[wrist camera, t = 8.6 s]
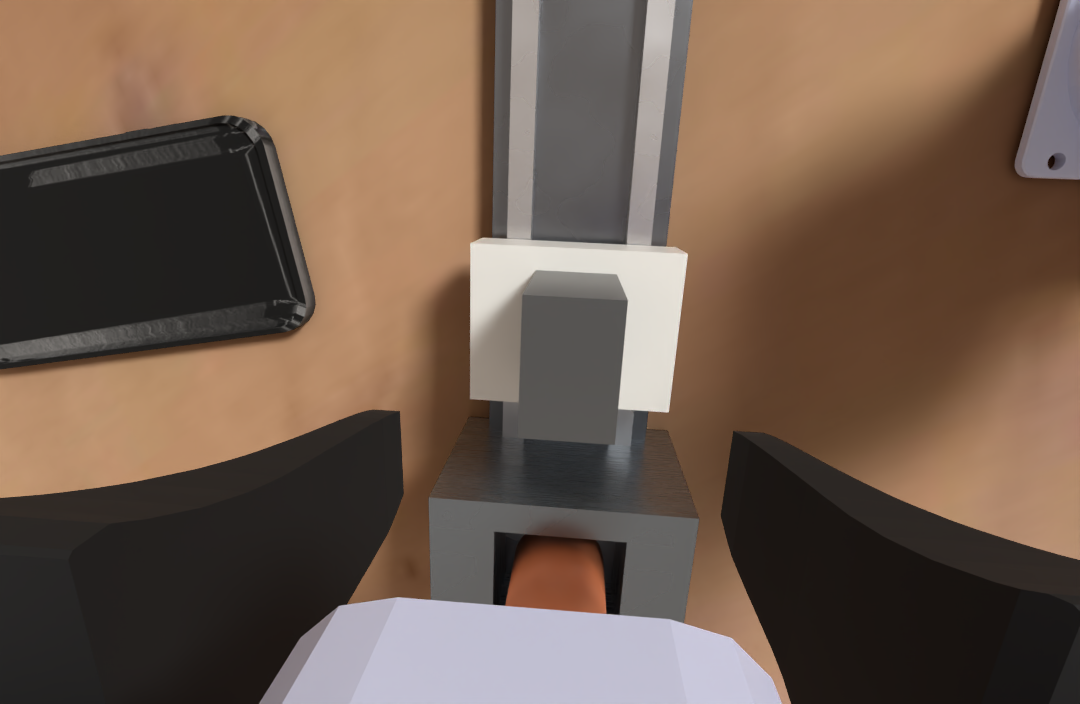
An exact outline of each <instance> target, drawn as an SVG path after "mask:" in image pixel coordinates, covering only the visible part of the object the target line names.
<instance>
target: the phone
mask: <svg viewBox="0 0 1080 704" xmlns="http://www.w3.org/2000/svg"><path fill="white" fill-rule="evenodd" d="M314 309H315V295H314V291H313V288H312V284H311V280H310V276H309V272H308V269H307V265H306V261H305V257H304V254H303V250H302V246H301V242H300V238H299V235H298V231H297V227H296V223H295V220H294V216H293V212H292V208H291V204H290V201H289V197H288V193H287V189H286V186H285V182H284V178H283V174H282V170H281V167H280V163H279V159H278V155H277V152H276V148H275V145H274V143H273V141H272V138H271V136H270V135H269V134H268V133H267V131H266V130H265V129H264V128H263V127H262V126H260V125H259V124H258V123H256V122H254V121H251V120H248V119H245V118H241V117H237V116H218V117H213V118H207V119H202V120H196V121H190V122H185V123H179V124H173V125H167V126H162V127H156V128H152V129H142V130H136V131H131V132H126V133H124V134H118V135H113V136H107V137H102V138H96V139H91V140H85V141H80V142H74V143H69V144H63V145H57V146H52V147H46V148H41V149H35V150H30V151H24V152H19V153H13V154H8V155H2V156H0V369H6V368H13V367H21V366H29V365H37V364H44V363H52V362H60V361H67V360H75V359H83V358H90V357H98V356H106V355H113V354H121V353H129V352H136V351H144V350H152V349H159V348H167V347H175V346H182V345H190V344H198V343H206V342H213V341H221V340H229V339H236V338H244V337H252V336H259V335H267V334H275V333H282V332H287V331H290V330H293V329H296V328H298V327H300V326H302V325H303V324H305V323H306V322H307V321H309V320H310V318H311V316H312V315H313V313H314Z"/></svg>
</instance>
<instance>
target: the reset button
mask: <svg viewBox="0 0 1080 704" xmlns="http://www.w3.org/2000/svg"><path fill="white" fill-rule="evenodd" d="M505 606H512V607H525V608H537V609H550V610H562V611H574V612H587V613H599V614H606V597H605V580H604V563H603V554H602V551H601V548H600V546H599V544H598V542H597V541H596V540H591V539H578V538H566V537H554V536H542V535H530V534H524V536H523V537H522V538H521V539H520V541H519V543H518V545H517V547H516V551H515V556H514V561H513V567H512V572H511V577H510V583H509V588H508V594H507V599H506V604H505Z"/></svg>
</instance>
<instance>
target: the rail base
mask: <svg viewBox="0 0 1080 704" xmlns="http://www.w3.org/2000/svg"><path fill="white" fill-rule="evenodd" d="M692 4H693V0H496V25H495V90H494V155H493V220H492V238H501V239H521V240H541V241H562V242H582V243H602V244H623V245H643V246H664V247H666V244H667V234H668V225H669V216H670V207H671V198H672V188H673V179H674V170H675V161H676V152H677V142H678V133H679V124H680V115H681V106H682V96H683V87H684V78H685V69H686V60H687V50H688V41H689V32H690V23H691V14H692ZM518 410H519V402H506V401H491V400H490V416H489V418H477V417H469V418H468V420H467V422H466V424H465V426H464V428H463V430H462V432H461V434H460V436H459V438H458V440H457V442H456V444H455V446H454V448H453V450H452V452H451V454H450V456H449V458H448V460H447V462H446V464H445V466H444V468H443V470H442V472H441V474H440V476H439V478H438V480H437V482H436V484H435V486H434V488H433V490H432V492H431V494H430V496H429V537H430V583H431V600H438V601H450V602H463V603H475V604H488V605H500V606H505V604H506V599H507V594H508V588H509V583H510V577H511V572H512V567H513V561H514V556H515V551H516V547H517V545H518V543H519V541H520V539H521V538H522V537H523V536H524V534H530V535H542V536H554V537H566V538H578V539H591V540H596V541H597V542H598V544H599V546H600V548H601V551H602V554H603V563H604V580H605V597H606V614H612V615H624V616H636V617H649V618H661V619H671V620H674V621H677V622H681V623H684V619H685V612H686V605H687V598H688V592H689V585H690V578H691V571H692V565H693V558H694V551H695V544H696V538H697V531H698V524H699V517H698V514H697V511H696V508H695V506H694V503H693V500H692V497H691V494H690V492H689V489H688V486H687V483H686V480H685V478H684V475H683V472H682V469H681V467H680V464H679V461H678V458H677V455H676V453H675V450H674V447H673V444H672V441H671V439H670V436H669V433H668V431H665V430H650V429H646V428H647V419H648V411H639V410H624V409H618V416H617V427H616V438H615V445H608V444H594V443H580V442H566V441H552V440H538V439H524V438H518Z"/></svg>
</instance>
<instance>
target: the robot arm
mask: <svg viewBox="0 0 1080 704" xmlns="http://www.w3.org/2000/svg"><path fill="white" fill-rule="evenodd" d="M1052 155H1053V156H1054V157H1055V163H1054V165H1053V167H1052V168H1050V169H1049V167H1048V160H1049V158H1050V157H1051V156H1052ZM1015 170H1016V172H1017V173H1018V174H1019V175H1020V176H1022V177H1026V178H1047V179H1072V180H1080V0H1060V4H1059V7H1058V11H1057V14H1056V18H1055V22H1054V25H1053V29H1052V32H1051V36H1050V39H1049V43H1048V46H1047V50H1046V53H1045V57H1044V60H1043V64H1042V68H1041V71H1040V75H1039V78H1038V82H1037V85H1036V89H1035V92H1034V96H1033V99H1032V103H1031V106H1030V110H1029V113H1028V117H1027V121H1026V124H1025V128H1024V131H1023V135H1022V138H1021V142H1020V145H1019V149H1018V152H1017V156H1016V159H1015ZM403 494H404V490H403V469H402V448H401V427H400V411H386V410H369V411H364V412H361V413H358V414H355V415H352V416H349V417H347V418H344V419H341V420H339V421H336V422H334V423H331V424H329V425H326V426H324V427H321V428H319V429H316V430H314V431H311V432H309V433H306V434H304V435H301V436H299V437H296V438H293V439H290V440H288V441H285V442H282V443H279V444H277V445H274V446H271V447H268V448H266V449H263V450H260V451H257V452H254V453H251V454H248V455H245V456H242V457H239V458H235V459H232V460H228V461H225V462H221V463H217V464H214V465H210V466H206V467H203V468H199V469H195V470H190V471H186V472H181V473H176V474H171V475H166V476H162V477H157V478H152V479H147V480H142V481H138V482H132V483H126V484H120V485H113V486H107V487H101V488H93V489H86V490H78V491H70V492H63V493H54V494H44V495H33V496H21V497H9V498H0V704H782V703H781V700H780V698H779V695H778V693H777V690H776V687H775V685H774V682H773V680H772V678H771V677H770V676H769V675H768V674H767V673H766V672H765V671H764V670H763V669H762V668H761V667H760V666H759V665H758V664H757V663H756V662H755V661H754V660H753V659H752V658H751V657H750V656H749V655H748V654H747V653H746V652H745V651H744V650H743V649H742V648H741V647H740V646H739V645H738V644H737V643H736V642H735V641H734V640H733V639H732V638H730V637H727V636H723V635H720V634H717V633H713V632H710V631H707V630H704V629H700V628H697V627H694V626H690V625H687V624H684V623H681V622H677V621H674V620H671V619H661V618H649V617H636V616H624V615H612V614H599V613H587V612H574V611H562V610H550V609H537V608H525V607H512V606H500V605H488V604H475V603H463V602H450V601H438V600H425V599H413V598H401V597H396V598H389V599H382V600H376V601H369V602H362V603H355V604H348V605H347V603H348V601H349V600H350V598H351V596H352V595H353V593H354V591H355V589H356V588H357V586H358V584H359V583H360V581H361V579H362V577H363V576H364V574H365V572H366V571H367V569H368V567H369V565H370V564H371V562H372V560H373V559H374V557H375V555H376V553H377V552H378V550H379V548H380V546H381V545H382V543H383V541H384V539H385V537H386V536H387V534H388V532H389V530H390V527H391V525H392V523H393V520H394V518H395V515H396V513H397V510H398V507H399V505H400V502H401V499H402V497H403ZM721 518H722V522H723V526H724V530H725V534H726V538H727V542H728V545H729V549H730V552H731V556H732V558H733V561H734V563H735V566H736V568H737V570H738V573H739V575H740V577H741V580H742V582H743V584H744V587H745V589H746V591H747V594H748V596H749V598H750V600H751V603H752V605H753V607H754V610H755V612H756V614H757V616H758V619H759V621H760V623H761V626H762V628H763V630H764V632H765V635H766V637H767V639H768V642H769V644H770V646H771V648H772V651H773V653H774V656H775V658H776V661H777V663H778V666H779V669H780V671H781V674H782V676H783V679H784V682H785V686H786V689H787V692H788V695H789V698H790V701H791V704H1080V560H1077V559H1073V558H1069V557H1065V556H1061V555H1058V554H1054V553H1051V552H1047V551H1044V550H1040V549H1037V548H1033V547H1030V546H1026V545H1023V544H1020V543H1017V542H1014V541H1010V540H1007V539H1004V538H1001V537H998V536H995V535H992V534H989V533H986V532H983V531H979V530H976V529H973V528H971V527H968V526H965V525H962V524H959V523H957V522H954V521H951V520H948V519H946V518H943V517H941V516H938V515H936V514H933V513H931V512H928V511H926V510H923V509H921V508H918V507H916V506H913V505H911V504H908V503H906V502H904V501H901V500H899V499H897V498H894V497H892V496H890V495H888V494H886V493H884V492H882V491H880V490H877V489H875V488H873V487H871V486H869V485H867V484H865V483H863V482H861V481H859V480H857V479H855V478H853V477H851V476H849V475H847V474H845V473H843V472H841V471H839V470H837V469H835V468H833V467H831V466H829V465H828V464H826V463H824V462H822V461H820V460H818V459H816V458H814V457H813V456H811V455H809V454H807V453H805V452H803V451H801V450H800V449H798V448H796V447H794V446H792V445H790V444H788V443H786V442H784V441H782V440H780V439H778V438H776V437H773V436H771V435H768V434H765V433H758V432H741V431H733V437H732V444H731V451H730V458H729V464H728V471H727V478H726V484H725V491H724V498H723V504H722V511H721Z"/></svg>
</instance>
